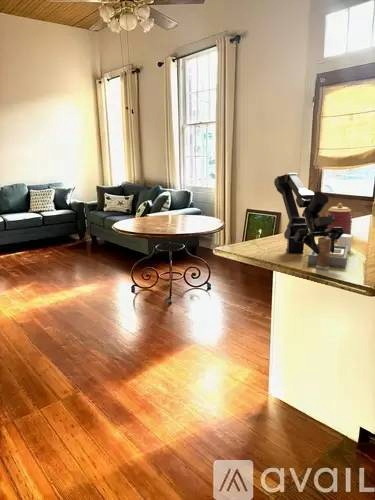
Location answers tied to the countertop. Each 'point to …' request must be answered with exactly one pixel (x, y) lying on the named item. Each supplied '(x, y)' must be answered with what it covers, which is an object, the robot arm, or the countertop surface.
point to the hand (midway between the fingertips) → (325, 253)
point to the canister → (341, 218)
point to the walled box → (332, 257)
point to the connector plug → (323, 253)
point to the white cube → (345, 241)
